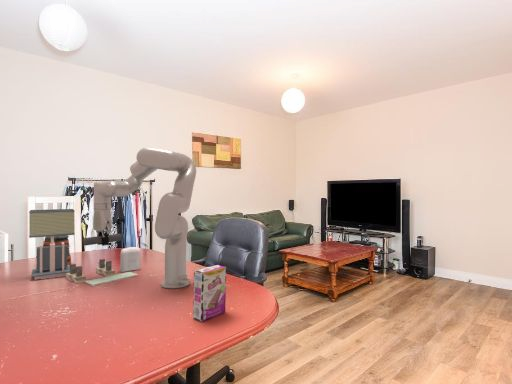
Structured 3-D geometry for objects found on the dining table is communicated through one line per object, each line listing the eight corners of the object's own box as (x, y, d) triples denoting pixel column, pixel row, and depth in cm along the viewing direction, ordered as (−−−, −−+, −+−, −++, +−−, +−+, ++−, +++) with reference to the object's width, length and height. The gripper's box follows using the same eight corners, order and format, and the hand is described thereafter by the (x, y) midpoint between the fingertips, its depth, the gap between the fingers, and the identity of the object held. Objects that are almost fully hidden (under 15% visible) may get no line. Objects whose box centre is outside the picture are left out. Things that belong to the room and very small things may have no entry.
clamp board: (114, 275, 157) (115, 261, 157) (76, 283, 143) (76, 268, 143) (103, 271, 164) (103, 257, 164) (66, 278, 150) (66, 264, 150)
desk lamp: (72, 269, 167) (72, 208, 167) (74, 275, 155) (74, 210, 155) (30, 274, 157) (30, 209, 157) (29, 281, 145) (29, 211, 145)
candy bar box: (202, 322, 101) (202, 272, 101) (192, 318, 105) (192, 270, 105) (226, 312, 110) (226, 266, 110) (216, 309, 113) (217, 264, 113)
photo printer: (138, 268, 171) (138, 245, 171) (141, 269, 168) (141, 246, 168) (119, 271, 164) (119, 247, 164) (122, 272, 161) (122, 249, 161)
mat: (137, 275, 156) (137, 274, 156) (92, 285, 139) (92, 284, 139) (129, 272, 161) (129, 271, 161) (84, 282, 144) (84, 281, 144)
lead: (118, 240, 159) (117, 233, 159) (122, 240, 157) (121, 233, 157) (83, 245, 146) (82, 238, 146) (86, 245, 144) (86, 237, 144)
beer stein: (39, 262, 182) (39, 228, 182) (68, 259, 191) (68, 226, 191) (41, 269, 167) (41, 232, 167) (72, 265, 176) (73, 230, 176)
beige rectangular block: (110, 270, 167) (110, 262, 167) (105, 271, 165) (105, 263, 164) (102, 267, 172) (102, 260, 172) (97, 268, 170) (97, 261, 170)
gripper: (87, 207, 154) (87, 244, 154) (102, 208, 143) (103, 247, 143) (102, 206, 160) (102, 242, 160) (118, 207, 149) (119, 245, 149)
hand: (103, 244), depth 151 cm, fingers closed on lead, 3 cm apart
